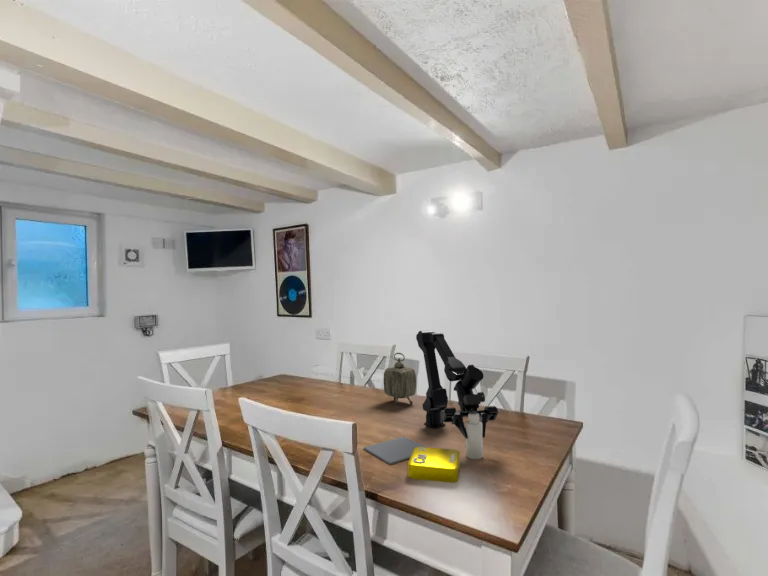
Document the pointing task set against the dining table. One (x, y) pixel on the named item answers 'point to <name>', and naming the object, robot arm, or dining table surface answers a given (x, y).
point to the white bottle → (474, 437)
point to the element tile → (434, 464)
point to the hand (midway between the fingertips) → (475, 437)
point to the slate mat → (394, 449)
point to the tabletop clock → (400, 381)
